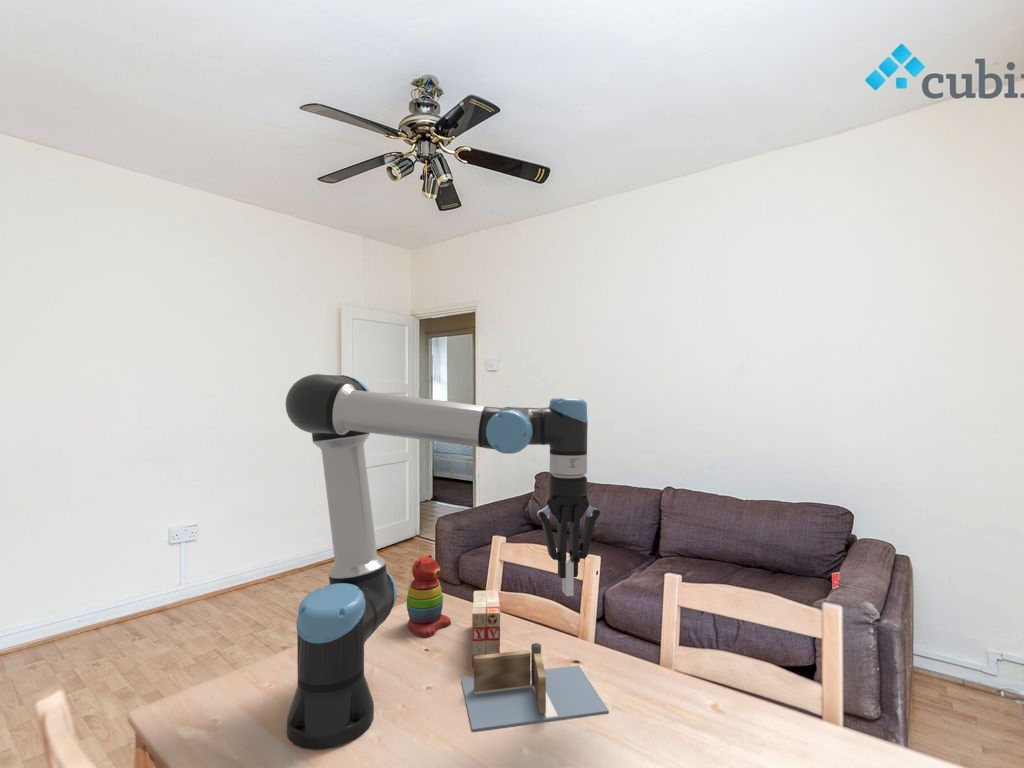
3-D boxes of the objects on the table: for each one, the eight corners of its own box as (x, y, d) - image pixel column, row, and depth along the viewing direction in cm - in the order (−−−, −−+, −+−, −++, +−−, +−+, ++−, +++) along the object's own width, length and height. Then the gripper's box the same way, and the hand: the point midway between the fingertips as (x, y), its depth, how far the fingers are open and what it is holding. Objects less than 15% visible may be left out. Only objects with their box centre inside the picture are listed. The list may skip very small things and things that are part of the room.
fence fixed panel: (474, 693, 106) (474, 654, 106) (473, 688, 108) (473, 649, 108) (542, 685, 109) (542, 647, 109) (539, 680, 111) (539, 642, 111)
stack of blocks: (474, 626, 138) (473, 578, 138) (498, 625, 138) (497, 578, 138) (471, 668, 116) (471, 612, 117) (500, 668, 117) (500, 612, 117)
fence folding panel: (533, 686, 107) (533, 653, 108) (540, 686, 108) (540, 653, 108) (538, 713, 98) (538, 677, 99) (546, 712, 99) (546, 677, 99)
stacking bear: (427, 639, 130) (427, 566, 130) (396, 630, 135) (396, 560, 136) (454, 623, 139) (454, 555, 140) (424, 614, 145) (424, 549, 145)
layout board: (472, 731, 95) (472, 728, 95) (461, 680, 111) (461, 678, 111) (608, 712, 100) (608, 710, 100) (578, 667, 117) (578, 665, 117)
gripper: (541, 478, 101) (541, 603, 101) (605, 477, 104) (605, 598, 103) (532, 473, 108) (531, 588, 108) (592, 471, 111) (592, 584, 111)
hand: (567, 593), depth 106 cm, fingers closed
